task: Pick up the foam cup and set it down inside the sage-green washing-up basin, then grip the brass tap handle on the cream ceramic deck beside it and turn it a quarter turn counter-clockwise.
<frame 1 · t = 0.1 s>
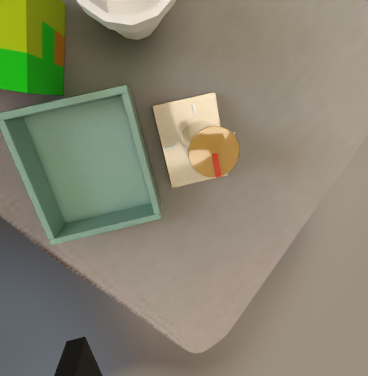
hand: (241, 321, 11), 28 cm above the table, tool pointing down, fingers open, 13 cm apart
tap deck: (190, 139, 37), on the table
puzzle toy: (20, 44, 31), on the table
foam cup: (133, 10, 31), on the table
tap handle: (206, 146, 30), point 7 cm above the table, hinge at 0.0°
basin: (94, 161, 36), on the table
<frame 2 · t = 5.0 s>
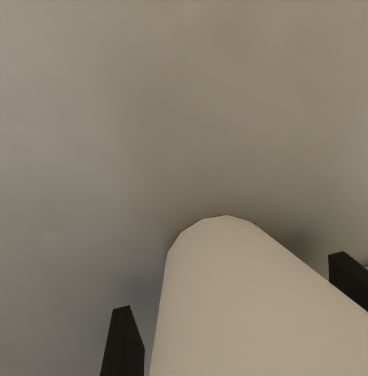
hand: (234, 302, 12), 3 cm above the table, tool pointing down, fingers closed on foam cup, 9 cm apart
foam cup: (218, 262, 16), on the table, touching gripper
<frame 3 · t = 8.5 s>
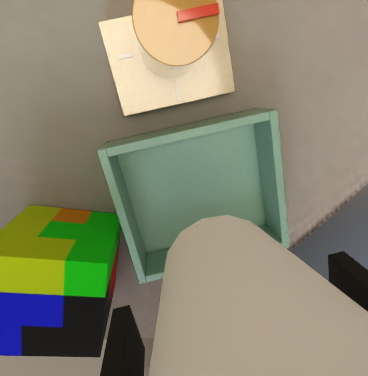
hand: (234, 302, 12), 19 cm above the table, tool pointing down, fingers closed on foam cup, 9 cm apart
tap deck: (169, 62, 26), on the table
puzzle toy: (76, 247, 32), on the table
foam cup: (218, 262, 16), point 16 cm above the table, touching gripper
tap handle: (171, 34, 19), point 7 cm above the table, hinge at 0.0°
basin: (195, 187, 31), on the table
when the fingers open (4 cm above the table, at t = 12.4 s): foam cup stays where it is, resting on basin.
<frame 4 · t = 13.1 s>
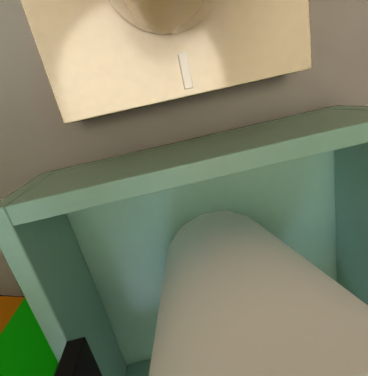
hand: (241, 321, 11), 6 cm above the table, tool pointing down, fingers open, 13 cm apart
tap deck: (166, 9, 12), on the table
puzzle toy: (1, 354, 18), on the table
foam cup: (217, 256, 16), point 1 cm above the table, touching basin
basin: (214, 251, 17), on the table
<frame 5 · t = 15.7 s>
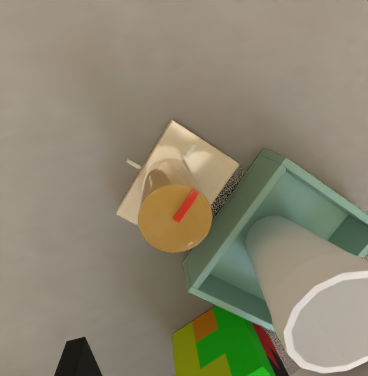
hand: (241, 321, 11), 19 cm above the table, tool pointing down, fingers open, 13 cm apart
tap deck: (175, 182, 29), on the table
puzzle toy: (222, 335, 37), on the table
foam cup: (270, 238, 32), point 1 cm above the table, touching basin
tap handle: (171, 199, 22), point 7 cm above the table, hinge at 0.0°
basin: (267, 236, 32), on the table
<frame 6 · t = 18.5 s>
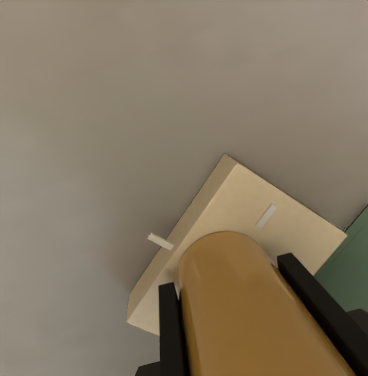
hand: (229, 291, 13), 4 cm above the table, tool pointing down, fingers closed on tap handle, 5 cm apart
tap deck: (225, 255, 17), on the table
tap handle: (249, 340, 10), point 7 cm above the table, hinge at 0.1°, touching gripper
basin: (361, 328, 21), on the table
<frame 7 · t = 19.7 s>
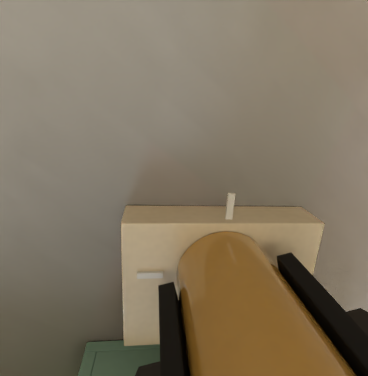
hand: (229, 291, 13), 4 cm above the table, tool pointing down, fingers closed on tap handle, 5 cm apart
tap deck: (211, 262, 17), on the table
tap handle: (249, 340, 10), point 7 cm above the table, hinge at 60.2°, touching gripper
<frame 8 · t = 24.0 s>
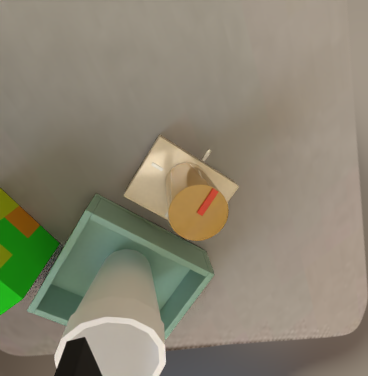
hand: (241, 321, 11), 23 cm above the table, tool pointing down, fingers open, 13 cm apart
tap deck: (180, 184, 33), on the table
puzzle toy: (0, 237, 33), on the table
foam cup: (126, 268, 35), point 1 cm above the table, touching basin
tap handle: (192, 197, 26), point 7 cm above the table, hinge at 90.9°
basin: (126, 266, 36), on the table
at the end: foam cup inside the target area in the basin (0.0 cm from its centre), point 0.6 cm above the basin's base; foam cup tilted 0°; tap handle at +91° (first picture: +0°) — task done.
